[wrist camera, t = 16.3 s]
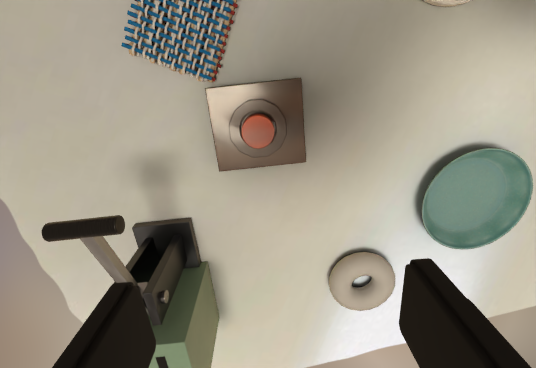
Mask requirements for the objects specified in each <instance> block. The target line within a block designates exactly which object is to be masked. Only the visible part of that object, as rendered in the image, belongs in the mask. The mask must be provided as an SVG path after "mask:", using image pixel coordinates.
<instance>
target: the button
mask: <svg viewBox="0 0 536 368" xmlns="http://www.w3.org/2000/svg"><path fill="white" fill-rule="evenodd" d="M274 133H275V131H274V126H273V123H272V121H271V120H270V118H269V117H267V116H266V115H264V114H260V113H256V114H252V115H250V116H248V117H247V118H246V119H245V121H244V123H243V126H242V129H241V134H242V138H243V140H244V142H245V143H246V144H247V145H248V146H250V147H252V148H257V149H260V148H264V147H266V146H268V145H269V144H270V143H271V142H272V140H273V138H274Z"/></svg>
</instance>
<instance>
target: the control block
mask: <svg viewBox="0 0 536 368" xmlns="http://www.w3.org/2000/svg"><path fill="white" fill-rule="evenodd" d="M205 91H206V97H207V103H208V108H209V114H210V120H211V126H212V132H213V137H214V143H215V149H216V155H217V160H218V166H219V171H229V170H238V169H247V168H256V167H266V166H275V165H284V164H293V163H303V162H306V153H305V136H304V119H303V101H302V84H301V78H293V79H284V80H275V81H266V82H257V83H248V84H239V85H230V86H221V87H212V88H205ZM256 113H260V114H264V115H266V116H267V117H269V118H270V120H271V121H272V123H273V126H274V131H275V133H274V138H273V140H272V142H271V143H270V144H269V145H268V146H266V147H264V148H260V149H257V148H252V147H250V146H248V145H247V144H246V143H245V142H244V140H243V138H242V134H241V129H242V126H243V123H244V121H245V119H246V118H247V117H248V116H250V115H252V114H256Z"/></svg>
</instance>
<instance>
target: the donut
mask: <svg viewBox="0 0 536 368" xmlns="http://www.w3.org/2000/svg"><path fill="white" fill-rule="evenodd" d="M365 275H367V276H371V277H372V279H371V281H370V283H369V284H367V285H366V286H364V287H360V288H356V287H352V285H351V284H352V282H353V281H354V280H355V279H356V278H358V277H360V276H365ZM329 287H330V291H331V293H332V295H333V297H334V299H335V300H336V301H337V302H338V303H339V304H340V305H342V306H344V307H346V308H348V309H351V310H358V311H362V310H370V309H372V308H375V307H378V306H379V305H381V304H382V303H384V302H385V301H386V300H387V299H388V298H389V297H390V295H391V294H392V292H393V290H394V287H395V274H394V271H393V269H392V266H391V265H390V264H389V263H388V262H387V261H386V260H385V259H384V258H383V257H381V256H379V255H377V254H374V253H368V252H360V253H354V254H351V255H349V256H346V257H344V258H343V259H342V260H340V261H339V262H338V263H337V264H336V265H335V267H334V268H333V269H332V272H331V275H330V278H329Z"/></svg>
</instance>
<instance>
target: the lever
mask: <svg viewBox="0 0 536 368" xmlns="http://www.w3.org/2000/svg"><path fill="white" fill-rule="evenodd" d="M124 229H125V222H124V219H123V217H122V216H120V215H117V216H108V217H98V218H89V219H80V220H70V221H61V222H52V223H47V224H45V225H44V227H43V229H42V236H43V238H44V240H46V241H48V242H51V241H60V240H70V239H79V238H80V239H81V241H82V242H83V243H84V244H85V245H86V247H87V248H88V249H89V250H90V252H91V253H92V254H93V255H94V256H95V258H96V259H97V260H98V261H99V262H100V264H101V265H102V266H103V267H104V268H105V270H106V271H107V272H108V273H109V275H110V276H111V277H112V278H113V279H114V281H115V282H116V283H121V282H132V283H134V285H135V286H138V287H139V290H140V293H141V296H142V299H143V302H144V305H145V308H146V311H147V314H148V315H149V313H148V310H147V307H146V304H145V301H144V298H143V295H142V293H143V291H144V290H145V288H146V286H147V284H148V282H143V283H137V282H136V281H135V279H134V278H133V277H132V275H131V274H130V273H129V271H128V270H127V269H126V267H125V266H124V264H123V263H122V262H121V260H120V259H119V258H118V256H117V255H116V254H115V252H114V251H113V249H112V248H111V247H110V245H109V244H108V243H107V241H106V240H105V239H104V237H103V236H107V235H117V234H121V233H123V231H124Z"/></svg>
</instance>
